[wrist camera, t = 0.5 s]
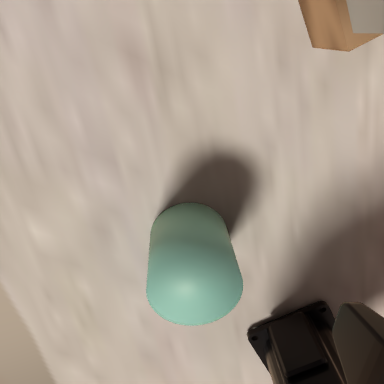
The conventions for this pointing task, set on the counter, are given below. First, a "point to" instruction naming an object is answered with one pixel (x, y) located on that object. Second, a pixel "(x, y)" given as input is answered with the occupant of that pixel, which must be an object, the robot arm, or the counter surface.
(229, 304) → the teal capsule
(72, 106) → the counter surface
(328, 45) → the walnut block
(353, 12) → the light grey block
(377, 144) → the counter surface
